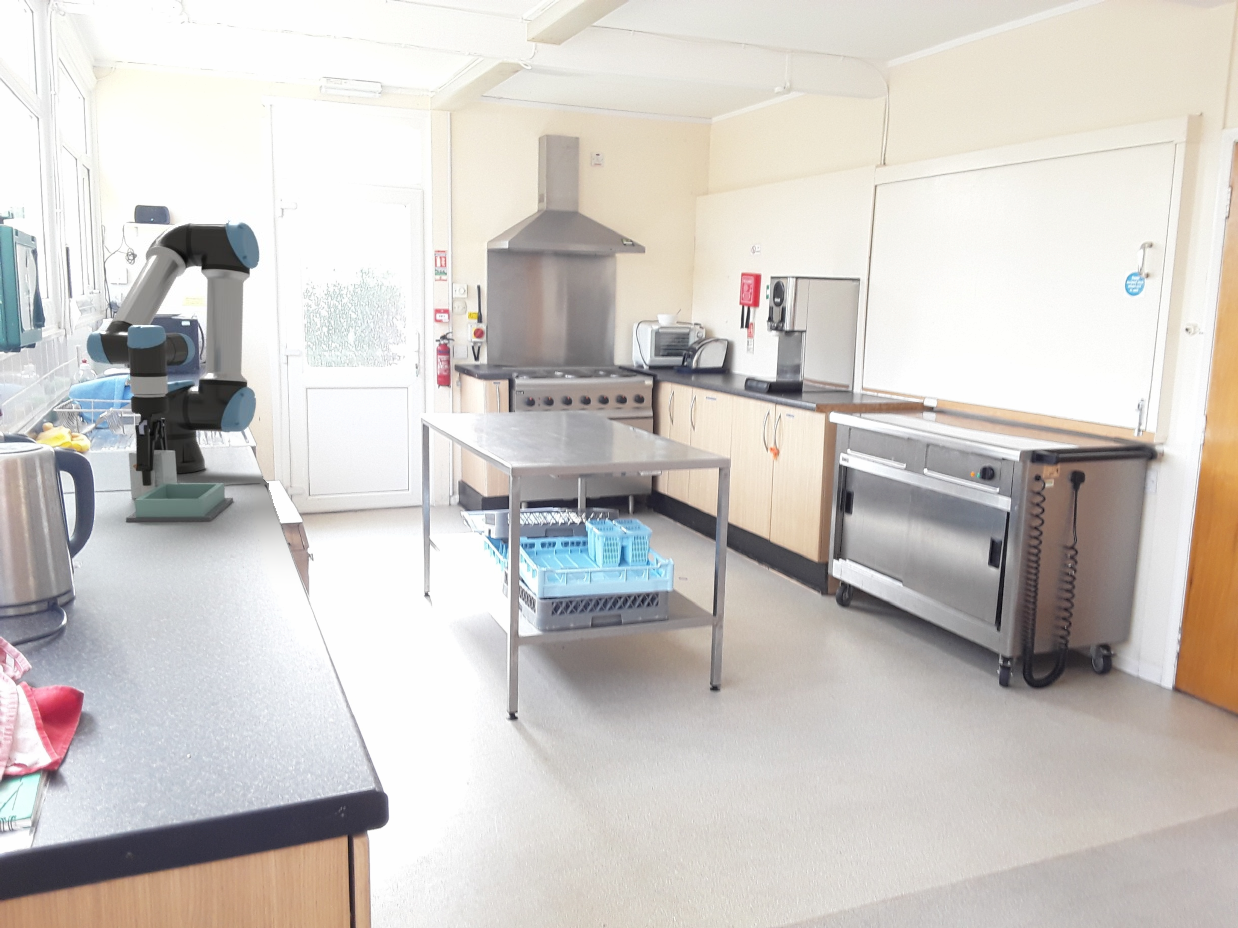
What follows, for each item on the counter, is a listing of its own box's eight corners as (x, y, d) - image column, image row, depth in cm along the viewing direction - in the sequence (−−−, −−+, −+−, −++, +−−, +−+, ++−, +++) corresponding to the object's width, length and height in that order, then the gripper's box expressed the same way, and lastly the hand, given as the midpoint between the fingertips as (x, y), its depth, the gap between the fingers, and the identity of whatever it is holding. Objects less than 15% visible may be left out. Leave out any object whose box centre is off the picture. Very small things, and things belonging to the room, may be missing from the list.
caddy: (157, 501, 210) (156, 482, 209) (233, 501, 212) (232, 482, 212) (126, 521, 190) (125, 500, 190) (210, 521, 193) (209, 500, 192)
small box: (178, 495, 217) (176, 450, 215) (164, 500, 211) (162, 454, 210) (145, 493, 218) (143, 448, 216) (130, 498, 212) (128, 452, 210)
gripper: (146, 390, 220) (150, 487, 223) (115, 399, 200) (121, 505, 204) (180, 391, 221) (184, 487, 225) (153, 399, 201) (158, 505, 205)
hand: (154, 495), depth 214 cm, fingers open, 7 cm apart
